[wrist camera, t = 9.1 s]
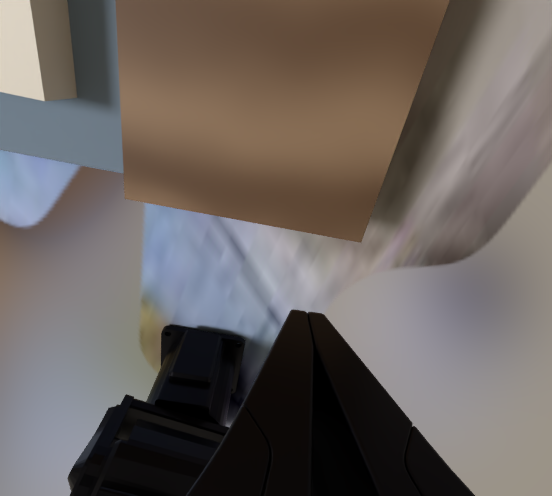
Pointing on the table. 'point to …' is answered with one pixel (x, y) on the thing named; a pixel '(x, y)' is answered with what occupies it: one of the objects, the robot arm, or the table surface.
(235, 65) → the brown box
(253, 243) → the table surface
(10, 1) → the cream rectangular block
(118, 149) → the gray lipped tray
